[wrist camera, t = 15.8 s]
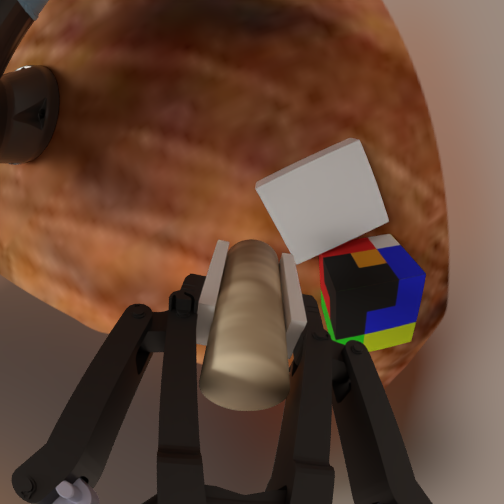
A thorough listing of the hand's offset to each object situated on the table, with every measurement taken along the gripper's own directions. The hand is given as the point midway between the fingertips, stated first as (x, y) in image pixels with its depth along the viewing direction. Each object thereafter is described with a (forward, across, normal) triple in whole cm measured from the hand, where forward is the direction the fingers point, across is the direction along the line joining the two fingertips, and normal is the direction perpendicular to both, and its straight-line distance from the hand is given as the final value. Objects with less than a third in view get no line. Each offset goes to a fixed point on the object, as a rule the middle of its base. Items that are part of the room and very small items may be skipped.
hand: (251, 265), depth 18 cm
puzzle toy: (+15, +15, -6) cm, 22 cm away
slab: (+15, +7, +2) cm, 17 cm away
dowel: (0, 0, 0) cm, 0 cm away
